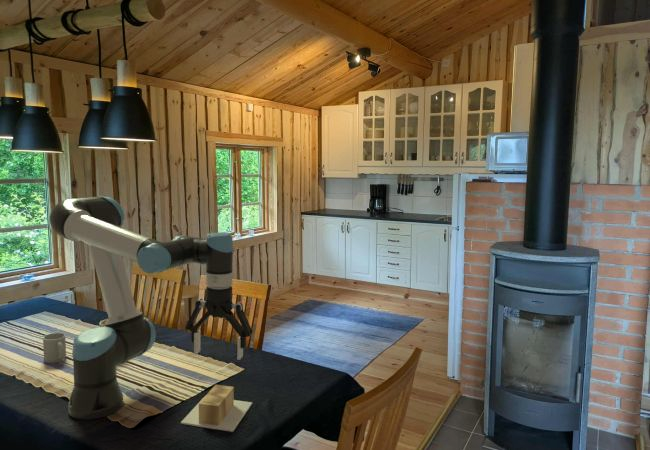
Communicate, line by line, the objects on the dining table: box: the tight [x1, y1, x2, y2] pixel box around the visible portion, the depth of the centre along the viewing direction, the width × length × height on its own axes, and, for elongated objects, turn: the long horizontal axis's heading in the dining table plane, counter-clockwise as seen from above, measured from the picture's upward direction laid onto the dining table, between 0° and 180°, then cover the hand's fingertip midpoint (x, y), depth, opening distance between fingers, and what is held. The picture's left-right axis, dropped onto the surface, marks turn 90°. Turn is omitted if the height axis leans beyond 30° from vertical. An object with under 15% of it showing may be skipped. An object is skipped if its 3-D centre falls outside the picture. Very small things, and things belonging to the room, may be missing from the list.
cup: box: [42, 332, 67, 364], centre depth 176 cm, size 7×10×9 cm
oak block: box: [198, 384, 235, 426], centre depth 143 cm, size 6×6×12 cm
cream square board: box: [180, 395, 253, 433], centre depth 144 cm, size 16×16×1 cm
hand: (218, 355), depth 142 cm, fingers open, 13 cm apart
